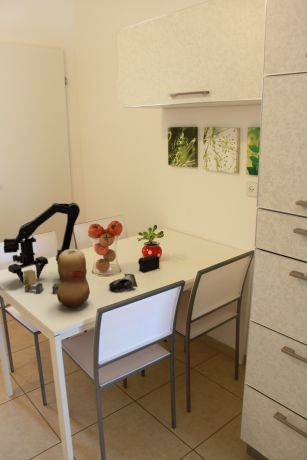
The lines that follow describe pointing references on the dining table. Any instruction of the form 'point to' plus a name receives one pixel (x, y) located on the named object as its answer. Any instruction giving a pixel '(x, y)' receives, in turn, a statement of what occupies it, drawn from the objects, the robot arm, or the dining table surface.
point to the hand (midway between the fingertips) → (30, 280)
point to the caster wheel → (123, 283)
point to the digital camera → (148, 263)
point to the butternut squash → (72, 278)
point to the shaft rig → (40, 288)
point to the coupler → (30, 277)
